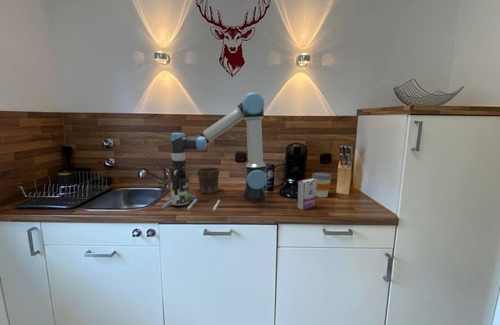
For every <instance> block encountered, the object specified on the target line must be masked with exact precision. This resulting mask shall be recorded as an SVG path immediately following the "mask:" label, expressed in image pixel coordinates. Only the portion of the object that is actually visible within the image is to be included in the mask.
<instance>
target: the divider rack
mask: <svg viewBox="0 0 500 325" xmlns="http://www.w3.org/2000/svg"><path fill="white" fill-rule="evenodd" d="M189 201H192V202H191V203H189V205H188V206H187V207H186V208H187V211H190V210H191V208H193V206H194V205H195V204H196V203H197V201H198V199H197V196H196V195H189ZM220 203H221V199H217V201H216V203H215V205H214V206H213V208H212V212H213V211H214V212H215V211H216V209H217V208H218V205H219V204H220ZM170 204H172V202H171V199H170V200H168V201H167V202H166V203H165V204H163V205H162V206H161V210H165V209H166V208H167V207H168V206H169V205H170Z"/></svg>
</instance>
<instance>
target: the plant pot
mask: <svg viewBox="0 0 500 325" xmlns="http://www.w3.org/2000/svg"><path fill="white" fill-rule="evenodd" d="M196 171H197V172H196V173H197V176H198V177H197V178H198V184H199V192H200V193H201V194H207V195H208V194H209V195H210V194H215V193H217V192H218V189H219V187H218V186H219V176H220V171H221V169H220V168H219V167H199V168H197V169H196Z"/></svg>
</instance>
